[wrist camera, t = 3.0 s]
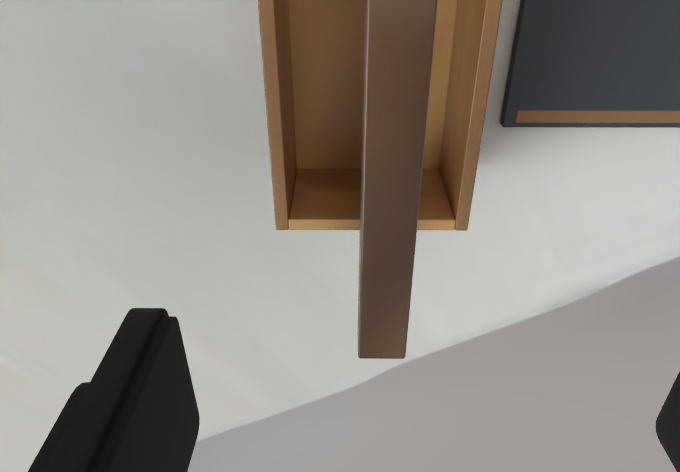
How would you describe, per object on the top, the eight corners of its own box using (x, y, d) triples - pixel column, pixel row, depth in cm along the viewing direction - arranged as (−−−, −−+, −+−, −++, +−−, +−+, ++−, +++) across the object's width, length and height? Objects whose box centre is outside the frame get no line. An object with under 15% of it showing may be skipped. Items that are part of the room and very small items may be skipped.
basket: (287, 173, 30) (249, 358, 18) (272, -71, 23) (197, -36, 12) (446, 174, 30) (514, 360, 18) (476, -72, 23) (612, -36, 11)
